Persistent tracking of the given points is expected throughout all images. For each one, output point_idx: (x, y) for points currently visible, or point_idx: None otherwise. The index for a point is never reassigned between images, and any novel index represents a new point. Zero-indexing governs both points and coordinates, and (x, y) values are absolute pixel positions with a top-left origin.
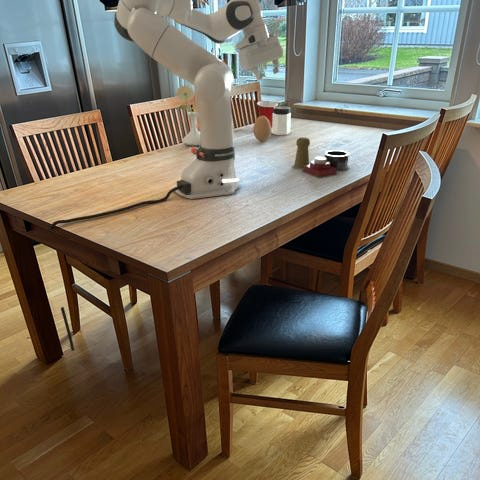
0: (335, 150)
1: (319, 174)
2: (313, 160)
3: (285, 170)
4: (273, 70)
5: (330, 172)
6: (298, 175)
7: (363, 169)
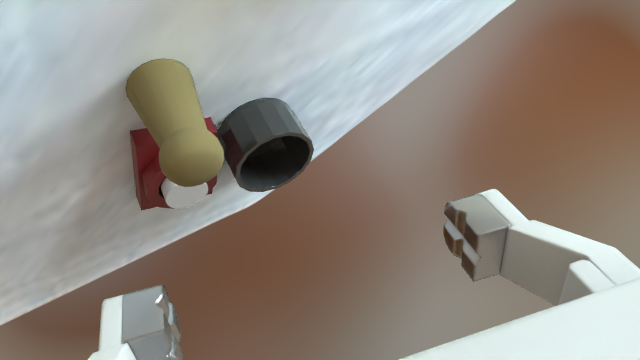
0: (301, 135)
1: (139, 203)
2: None
3: (63, 103)
4: (469, 234)
5: None
6: (81, 165)
7: None
